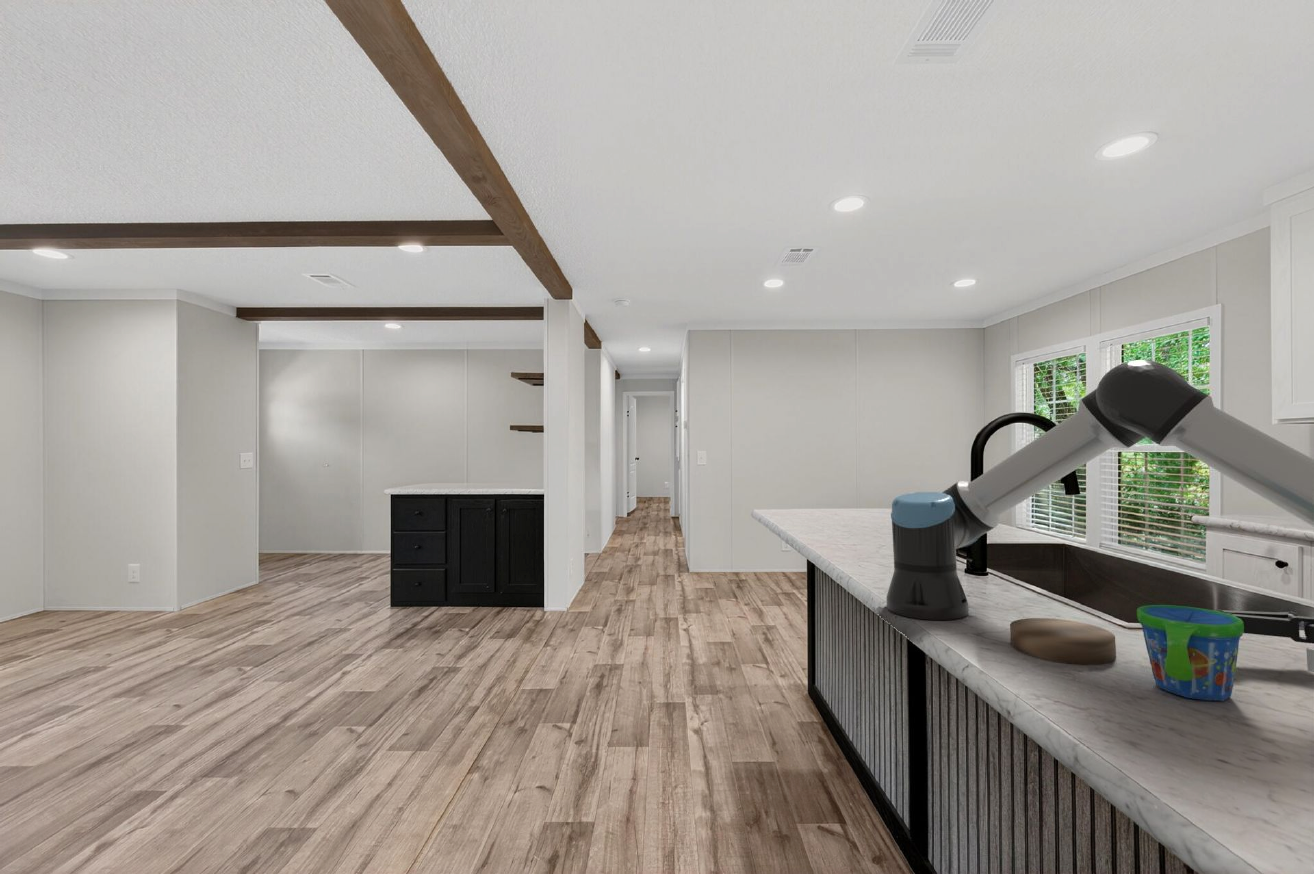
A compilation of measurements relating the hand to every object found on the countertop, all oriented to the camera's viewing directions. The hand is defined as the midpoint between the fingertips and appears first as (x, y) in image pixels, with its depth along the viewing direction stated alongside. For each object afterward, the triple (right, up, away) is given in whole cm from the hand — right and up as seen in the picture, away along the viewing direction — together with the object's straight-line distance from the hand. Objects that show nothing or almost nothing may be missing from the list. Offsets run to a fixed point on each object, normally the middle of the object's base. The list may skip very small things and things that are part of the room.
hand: (1247, 642), depth 79 cm
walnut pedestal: (-14, -7, +17) cm, 22 cm away
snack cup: (-8, -6, -1) cm, 10 cm away
